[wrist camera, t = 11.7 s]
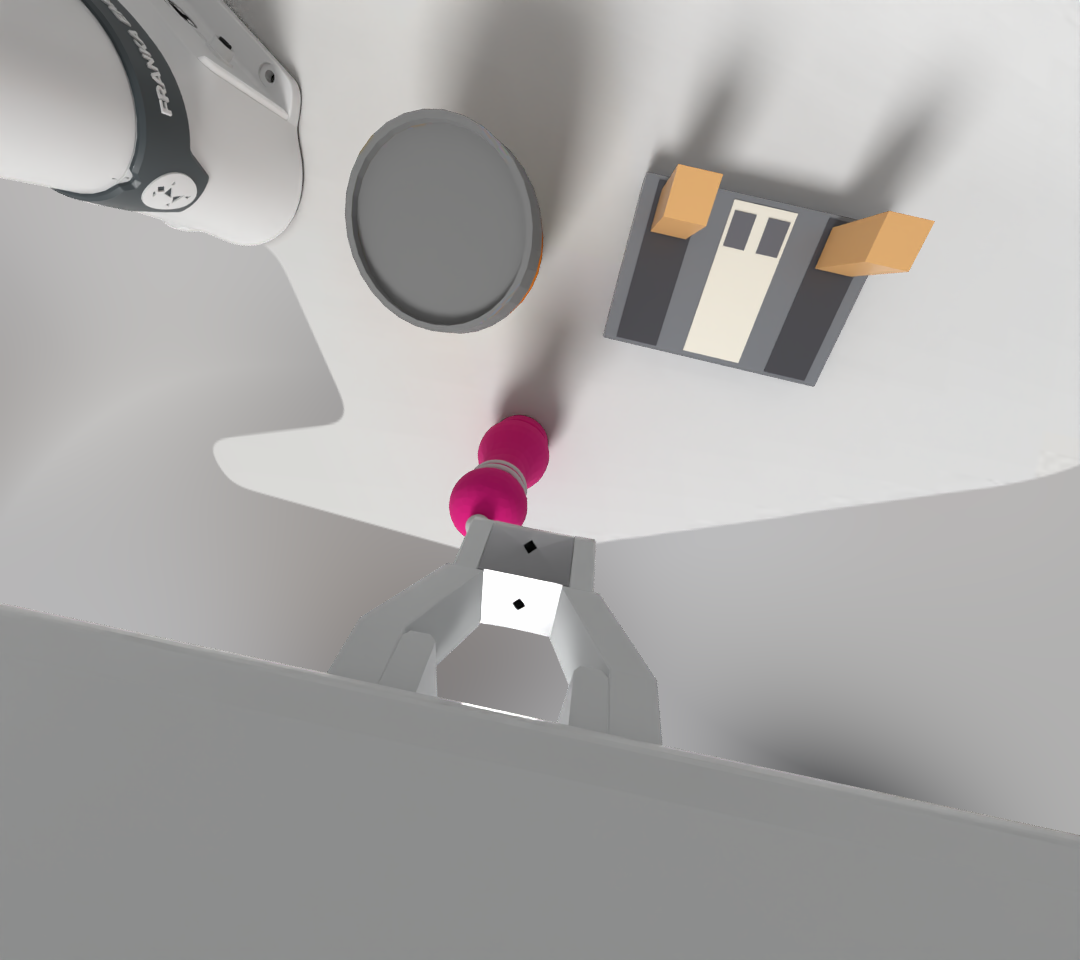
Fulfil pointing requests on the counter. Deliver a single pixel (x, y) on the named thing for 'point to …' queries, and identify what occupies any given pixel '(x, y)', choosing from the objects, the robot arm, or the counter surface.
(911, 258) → the slider
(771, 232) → the switch panel
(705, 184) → the slider
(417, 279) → the reusable coffee cup
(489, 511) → the pepper mill
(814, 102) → the counter surface
